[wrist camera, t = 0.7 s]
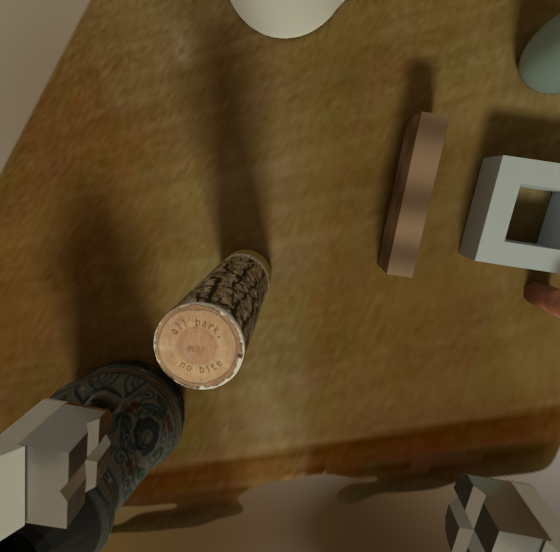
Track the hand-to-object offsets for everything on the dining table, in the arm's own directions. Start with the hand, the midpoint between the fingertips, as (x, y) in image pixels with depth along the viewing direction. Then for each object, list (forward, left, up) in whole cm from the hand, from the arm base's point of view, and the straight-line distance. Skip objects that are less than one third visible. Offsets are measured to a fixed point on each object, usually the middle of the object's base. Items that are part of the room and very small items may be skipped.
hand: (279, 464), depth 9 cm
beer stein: (+28, -21, -44) cm, 56 cm away
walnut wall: (-7, +12, -44) cm, 46 cm away
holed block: (-7, +27, -44) cm, 52 cm away
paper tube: (+6, -6, -44) cm, 45 cm away
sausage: (+3, +32, -44) cm, 54 cm away
